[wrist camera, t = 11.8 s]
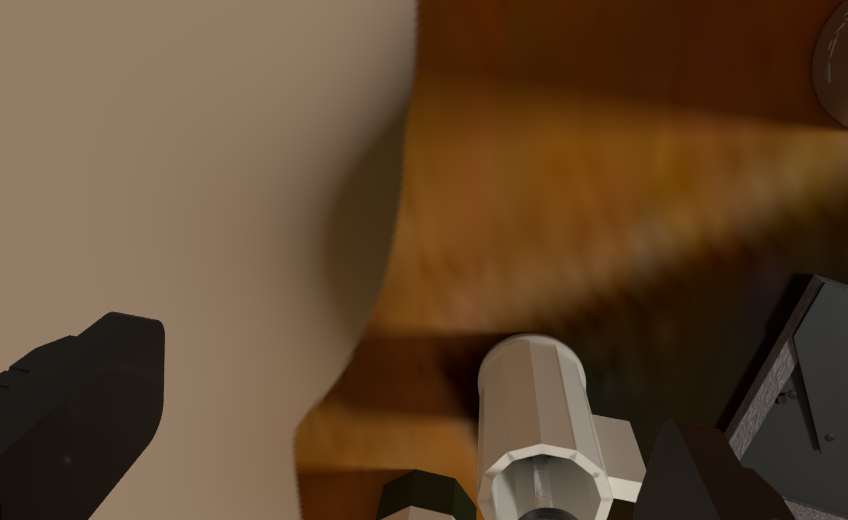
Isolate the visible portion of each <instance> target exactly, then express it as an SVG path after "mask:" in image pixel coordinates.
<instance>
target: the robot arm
mask: <svg viewBox="0 0 848 520" xmlns="http://www.w3.org/2000/svg"><path fill="white" fill-rule="evenodd" d="M812 79H813V84H814V89H815V92H816V94H817V97H818V99H819V101H820V103H821V105H822V106H823V107H824V109H825V110H826V111H827V112H828V114H829V115H830V116H831V117H832V118H834V119H835V120H837V121H838V122H839V123H841V124H842V125H844V126H846V127H848V0H845V1H844V2H843V3H842V4H841V5H840V6H839V7H838V8H837V9H836V10H835V11H834V12H833V14H832V15H831V17H830V18H829V20H828V21H827V22H826V24H825V25H824V27H823V30H822V32H821V34H820V36H819V38H818V40H817V43H816V47H815V51H814V55H813V60H812ZM164 352H165V331H164V327H163V324H162V323H161V322H160V321H159V320H154V319H149V318H144V317H139V316H134V315H129V314H123V313H118V312H110V313H107V314H106V315H104V316H103V317H102V318H101V319H99V320H98V321H97V322H95V323H94V324H93V325H91V326H90V327H89V328H88V329H86V330H85V331H83V332H82V333H81V334H79V335H78V336H71V335H69V336H67V337H64V338H61V339H59V340H56V341H54V342H51V343H48V344H45V345H43V346H40V347H37V348H35V349H34V350H32V351H31V352H29V353H28V354H27V355H25V356H24V357H22V358H21V359H20V360H18V361H17V362H16V363H14V364H13V365H11V366H10V367H9V370H8V371H3V372H1V373H0V520H88V519H89V518H90V516H91V515H92V514H93V513H94V512H95V510H96V509H97V508H98V507H99V505H100V504H101V503H102V502H103V500H104V499H105V497H106V496H107V495H108V494H109V493H110V492H111V490H112V489H113V488H114V487H115V486H116V484H117V483H118V482H119V481H120V479H121V478H122V477H123V476H124V474H125V473H126V472H127V471H128V470H129V468H130V467H131V466H132V465H133V463H134V462H135V461H136V460H137V458H138V457H139V456H140V455H141V453H142V452H143V451H144V450H145V449H146V447H147V446H148V445H149V443H150V442H151V440H152V439H153V437H154V435H155V433H156V431H157V428H158V426H159V423H160V420H161V416H162V411H163V401H164V399H163V398H164V354H165V353H164ZM633 520H796V519H795V517H794V516H793V514H792V512H791V511H790V509H789V507H788V506H787V504H786V502H785V501H784V499H783V498H782V496H781V495H780V494H779V493H778V492H777V491H776V490H775V489H774V488H773V487H772V486H771V485H769V484H768V483H767V482H766V481H765V480H764V479H763V478H762V477H761V476H760V475H759V474H758V473H757V472H755V471H754V470H753V469H750V468H745V467H742V465H741V463H740V462H739V460H738V458H737V456H736V454H735V453H734V451H733V449H732V447H731V446H730V444H729V442H728V440H727V438H726V437H725V435H724V434H723V432H722V431H721V430H719V429H716V428H710V427H705V426H700V425H695V424H690V423H684V422H679V421H674V420H668V421H667V422H666V423H665V424H664V425H663V427H662V428H661V431H660V433H659V436H658V439H657V442H656V444H655V447H654V450H653V453H652V456H651V459H650V462H649V465H648V468H647V470H646V473H645V476H644V479H643V482H642V485H641V488H640V491H639V494H638V496H637V500H636V504H635V509H634V518H633Z"/></svg>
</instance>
